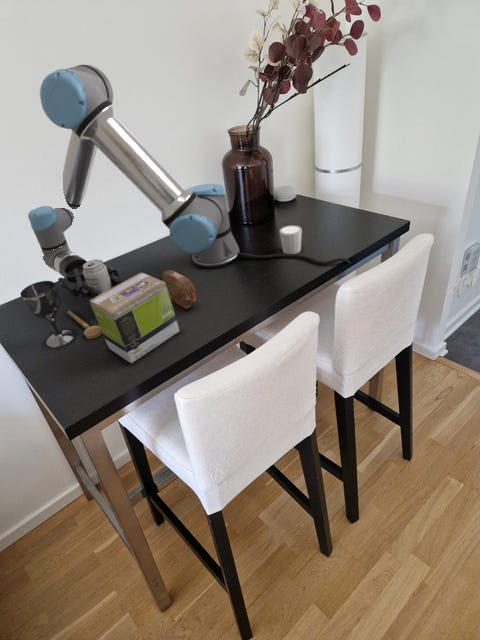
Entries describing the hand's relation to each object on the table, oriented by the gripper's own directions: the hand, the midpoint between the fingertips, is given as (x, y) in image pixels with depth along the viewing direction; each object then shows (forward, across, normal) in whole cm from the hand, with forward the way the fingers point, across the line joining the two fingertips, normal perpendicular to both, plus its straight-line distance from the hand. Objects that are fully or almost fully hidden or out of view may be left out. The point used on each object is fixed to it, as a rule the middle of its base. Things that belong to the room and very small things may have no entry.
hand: (109, 291), depth 110 cm
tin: (+7, -16, -9) cm, 20 cm away
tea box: (+15, +1, -9) cm, 17 cm away
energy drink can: (-5, 0, -9) cm, 10 cm away
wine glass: (-5, +15, -9) cm, 18 cm away
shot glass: (+12, -56, -9) cm, 58 cm away
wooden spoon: (-5, +8, -8) cm, 12 cm away
